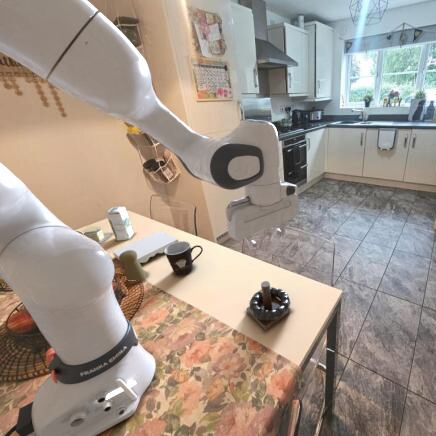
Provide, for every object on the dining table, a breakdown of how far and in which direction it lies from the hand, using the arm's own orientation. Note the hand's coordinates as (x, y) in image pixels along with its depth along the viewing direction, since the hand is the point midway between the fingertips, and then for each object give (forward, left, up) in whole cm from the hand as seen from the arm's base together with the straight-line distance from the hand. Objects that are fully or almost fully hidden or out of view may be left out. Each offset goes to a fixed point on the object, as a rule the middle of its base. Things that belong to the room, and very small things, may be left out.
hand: (267, 241), depth 64 cm
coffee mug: (-12, +35, -22) cm, 44 cm away
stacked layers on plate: (-34, +91, -22) cm, 100 cm away
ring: (-2, -1, -19) cm, 19 cm away
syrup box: (-23, +82, -22) cm, 88 cm away
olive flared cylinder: (-27, +44, -22) cm, 57 cm away
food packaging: (-19, +60, -22) cm, 67 cm away
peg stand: (-3, -2, -22) cm, 22 cm away
